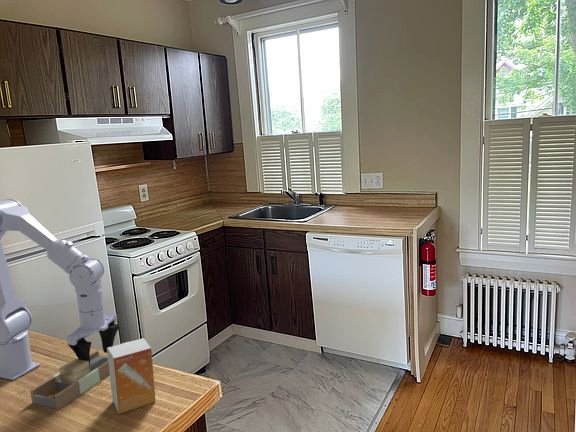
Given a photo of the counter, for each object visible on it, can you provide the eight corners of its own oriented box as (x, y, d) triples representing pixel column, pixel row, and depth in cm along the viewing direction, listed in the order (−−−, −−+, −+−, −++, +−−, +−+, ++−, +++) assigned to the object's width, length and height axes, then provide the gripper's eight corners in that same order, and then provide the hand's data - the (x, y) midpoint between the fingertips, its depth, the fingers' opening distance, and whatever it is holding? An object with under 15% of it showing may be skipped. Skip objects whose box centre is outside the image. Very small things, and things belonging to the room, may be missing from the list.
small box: (118, 415, 93) (112, 358, 91) (112, 401, 98) (106, 347, 96) (156, 402, 97) (151, 347, 95) (148, 389, 103) (143, 337, 100)
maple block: (60, 381, 104) (59, 367, 103) (76, 371, 108) (74, 358, 107) (75, 384, 102) (73, 370, 101) (90, 374, 106) (88, 361, 106)
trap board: (32, 403, 99) (30, 390, 98) (97, 361, 117) (95, 350, 116) (58, 409, 96) (57, 396, 95) (121, 366, 114) (120, 354, 113)
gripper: (80, 321, 101) (87, 376, 103) (124, 299, 114) (129, 348, 117) (57, 318, 103) (64, 371, 106) (103, 297, 117) (108, 344, 119)
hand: (97, 359), depth 111 cm, fingers open, 7 cm apart
